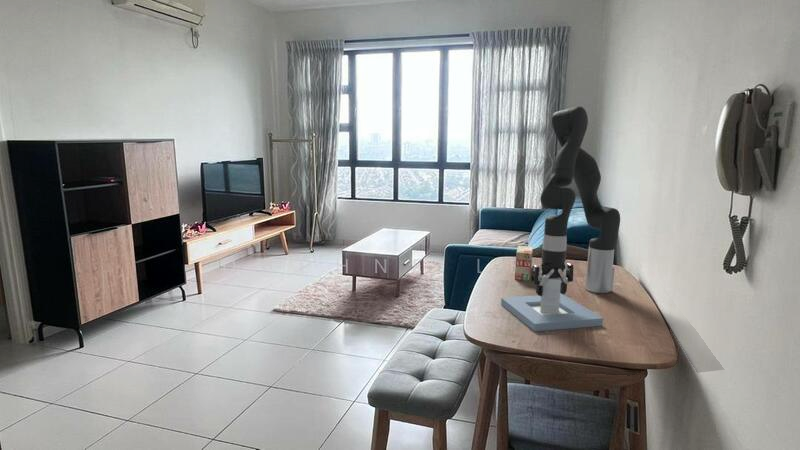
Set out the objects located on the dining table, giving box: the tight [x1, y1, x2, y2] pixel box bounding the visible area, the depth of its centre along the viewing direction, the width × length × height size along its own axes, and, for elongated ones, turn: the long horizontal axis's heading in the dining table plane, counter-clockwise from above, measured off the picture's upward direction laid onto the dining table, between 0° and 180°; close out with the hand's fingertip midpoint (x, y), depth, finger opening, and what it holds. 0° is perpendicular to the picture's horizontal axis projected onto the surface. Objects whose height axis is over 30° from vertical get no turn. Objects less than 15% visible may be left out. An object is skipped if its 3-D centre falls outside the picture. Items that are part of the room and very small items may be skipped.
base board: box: [500, 293, 604, 332], centre depth 157 cm, size 24×24×2 cm
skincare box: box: [540, 275, 562, 314], centre depth 156 cm, size 6×4×12 cm
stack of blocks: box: [514, 245, 533, 282], centre depth 203 cm, size 21×6×12 cm, turn 163°
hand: (550, 294), depth 155 cm, fingers open, 8 cm apart
